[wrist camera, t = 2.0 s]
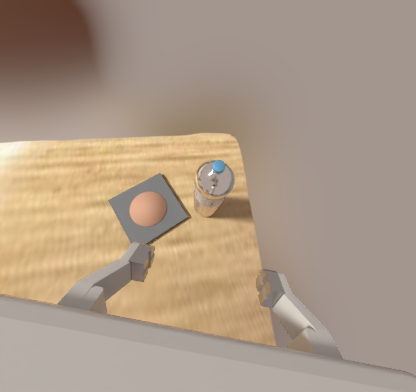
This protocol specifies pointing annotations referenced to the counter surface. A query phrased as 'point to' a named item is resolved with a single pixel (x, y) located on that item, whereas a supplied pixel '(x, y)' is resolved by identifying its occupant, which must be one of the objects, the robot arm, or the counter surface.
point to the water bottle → (212, 186)
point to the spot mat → (147, 210)
